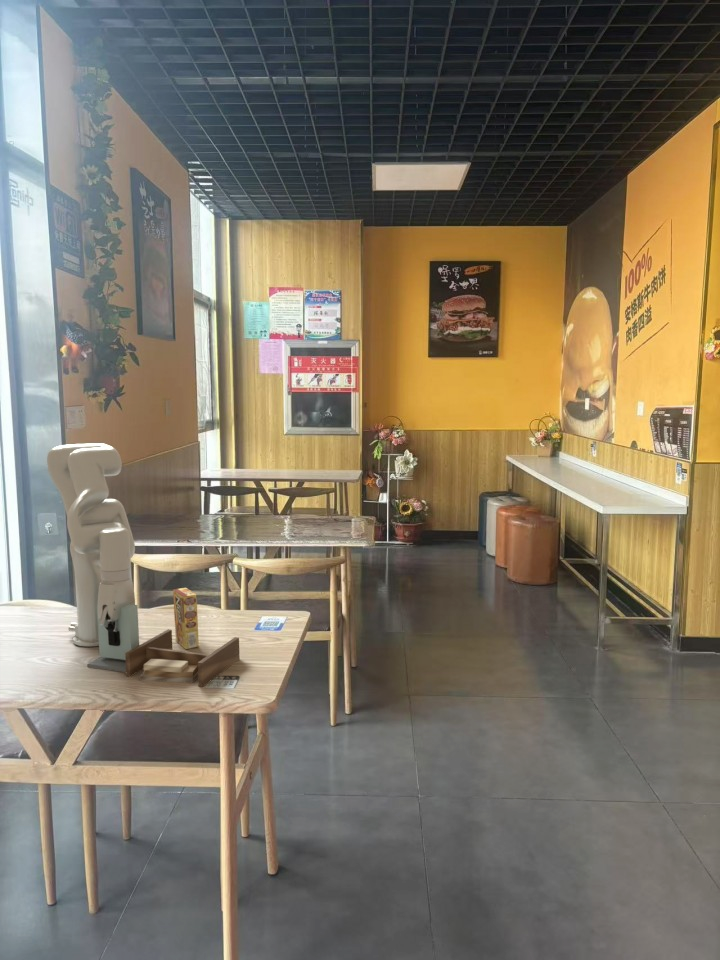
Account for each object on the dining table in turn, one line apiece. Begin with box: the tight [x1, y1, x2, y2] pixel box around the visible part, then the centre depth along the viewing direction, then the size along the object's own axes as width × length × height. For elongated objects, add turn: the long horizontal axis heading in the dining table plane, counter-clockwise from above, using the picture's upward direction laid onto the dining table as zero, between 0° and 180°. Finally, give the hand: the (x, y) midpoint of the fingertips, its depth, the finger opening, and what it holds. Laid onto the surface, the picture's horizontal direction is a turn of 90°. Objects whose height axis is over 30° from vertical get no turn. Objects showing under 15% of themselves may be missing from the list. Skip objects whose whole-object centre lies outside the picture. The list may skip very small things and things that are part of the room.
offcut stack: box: [138, 659, 198, 684], centre depth 181 cm, size 14×5×4 cm, turn 83°
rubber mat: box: [86, 656, 126, 673], centre depth 191 cm, size 13×10×1 cm
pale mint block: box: [97, 604, 140, 660], centre depth 190 cm, size 10×4×14 cm, turn 72°
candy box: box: [172, 587, 199, 650], centre depth 204 cm, size 9×4×15 cm, turn 33°
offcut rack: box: [125, 629, 241, 688], centre depth 187 cm, size 22×19×6 cm
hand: (119, 642), depth 190 cm, fingers closed on pale mint block, 3 cm apart
